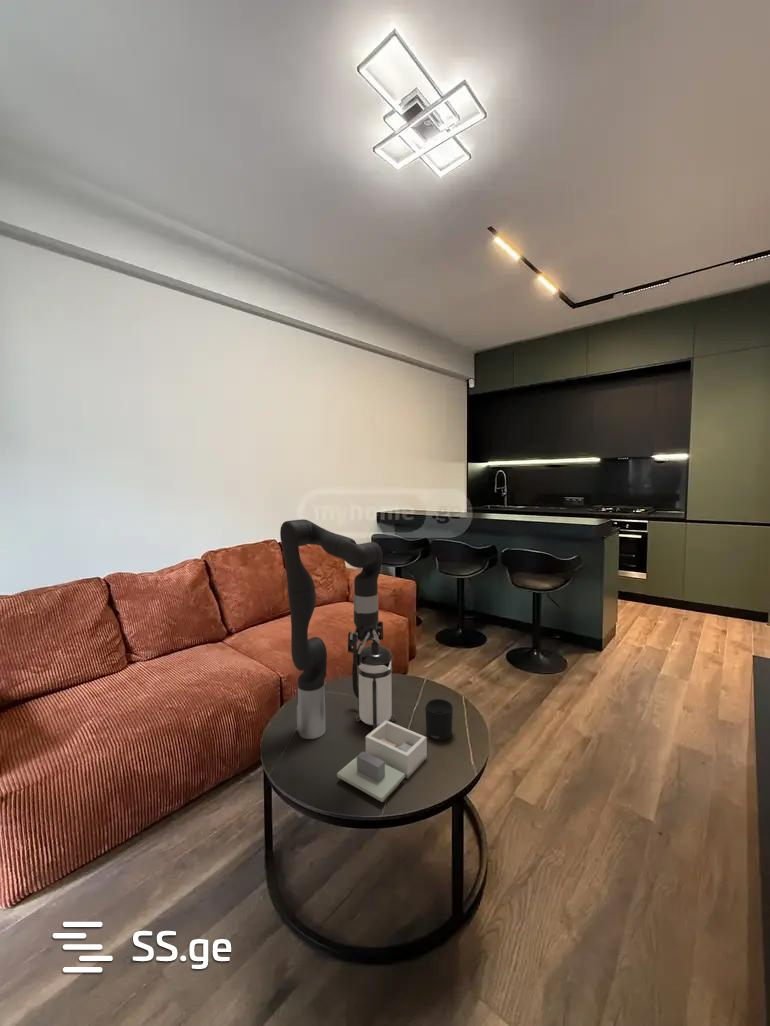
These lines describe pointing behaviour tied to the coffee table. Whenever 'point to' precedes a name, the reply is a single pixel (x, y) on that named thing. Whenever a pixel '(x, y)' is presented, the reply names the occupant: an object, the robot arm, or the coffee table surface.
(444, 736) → the pen holder
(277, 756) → the coffee table surface
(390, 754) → the storage box
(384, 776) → the lid
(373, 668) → the coffee press
